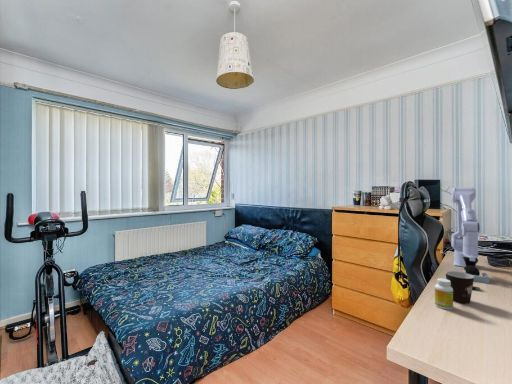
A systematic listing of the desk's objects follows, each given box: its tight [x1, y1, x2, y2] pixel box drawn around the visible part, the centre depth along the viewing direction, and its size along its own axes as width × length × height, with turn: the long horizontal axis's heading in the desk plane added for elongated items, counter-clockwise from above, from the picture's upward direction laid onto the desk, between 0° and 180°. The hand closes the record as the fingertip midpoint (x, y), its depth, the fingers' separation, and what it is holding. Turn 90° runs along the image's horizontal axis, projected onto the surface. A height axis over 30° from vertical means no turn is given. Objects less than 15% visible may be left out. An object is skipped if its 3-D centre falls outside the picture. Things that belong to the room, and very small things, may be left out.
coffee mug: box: [445, 270, 475, 305], centre depth 98 cm, size 12×9×10 cm
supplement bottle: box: [434, 277, 454, 310], centre depth 92 cm, size 5×5×10 cm
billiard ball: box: [462, 266, 481, 276], centre depth 122 cm, size 6×6×6 cm
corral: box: [455, 268, 490, 284], centre depth 122 cm, size 8×11×2 cm
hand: (470, 272), depth 126 cm, fingers closed
